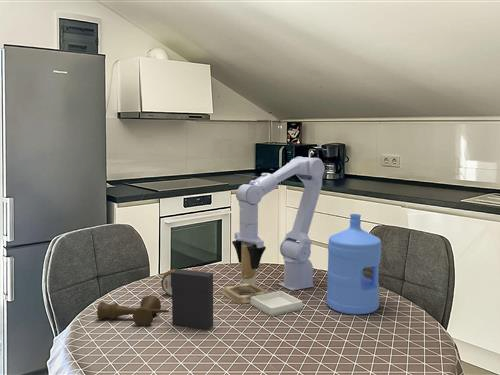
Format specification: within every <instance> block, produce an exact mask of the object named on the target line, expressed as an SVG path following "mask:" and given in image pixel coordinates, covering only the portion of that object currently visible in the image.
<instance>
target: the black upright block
mask: <svg viewBox="0 0 500 375" xmlns="http://www.w3.org/2000/svg"><path fill="white" fill-rule="evenodd" d="M190 270H191V269H179V268H177V270H175V271H173V272H172V273H171V287H172V296H171V313H172V314H171V319H172V321H171V323H172V325H173V326H176V327H177V326H178V327H183V328H184V327H185V328H189V329H196V330H204V331H209V330H210V329H211V328H212V327H214V274H213V273H212V272H207V271H201V272H199V271H200V270H197V271H190Z"/></svg>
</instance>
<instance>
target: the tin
mask: <svg viewBox="0 0 500 375" xmlns="http://www.w3.org/2000/svg"><path fill="white" fill-rule="evenodd" d="M177 269H178V268H177ZM177 269H170V270H168V271H166V272H165V273H164V275H163V276H162V278H161V284H160V285H161V287H162V290H163V291H164V293H165V294H166V295H168V296H171V297H172V287H171V273H172V272H173V271H175V270H177ZM189 270H190V271H199V272H202V271H200V270H194V269H193V270H192V269H189Z"/></svg>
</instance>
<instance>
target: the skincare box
mask: <svg viewBox="0 0 500 375" xmlns="http://www.w3.org/2000/svg"><path fill="white" fill-rule="evenodd" d="M250 246H253V245H252V244H250V243H247V242H244V241H241V263H240V264H241V267H240V268H241V270H240V272H241V274H240V278H241V283H242V284H247V283H253V284H257V269H252V268H251V260H250V254H249V251H248V249H247V247H250Z"/></svg>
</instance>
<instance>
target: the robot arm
mask: <svg viewBox="0 0 500 375" xmlns="http://www.w3.org/2000/svg"><path fill="white" fill-rule="evenodd" d="M325 169H326V167H325V165H324V162H323V161H322V159H321V158H319V157H306V156H305V157H303V156H296V157H294V158H292V159H291V160H290V161H289V162H288V163H287V164H285V165H284V166H282V167H281V168H278V170H276V171H275V172H273V173H269V172H262V173H260V175H261V176H259V177H258V178H256V179H254V180H253V179H252V180H250V181H249V183H248V184H247V183H243V184H242V185H239V187H238V189H237V191H236V193H235V198H236V199H237V201H238V206H239V231H238V232H234V240H232V241H231V242H232V245H233V247H234V249H235V251H236V256H237V259H238V263H239V264H241V241H244V242H247V243H250V244H252V245H253V246H250V247H247V249H248V251H249V254H250V260H251V268H252V269H256V270H257V269H259V267H260V264H261V259H262V257H263V254H264V252H265V251H266V249H267V247H266V246H265V242H264V240H262V239H261V238H260V236H258V234H259V205H258V204H259V203H260V202H261V201H262V198H263V197H265V196H266V195H267V194H269V193H270V192H272V191H274V190H276V189H277V187H278V184H279V183H280V182H283V181H284V180H286V179H288V178H291V177H293V176H296V177H298V179H299V180H300V181H301V182H302V183H303V186H304V188H303V192H302V194H301V199H300V201H299V202H300V203H299V206H298V209H297V212H296V215H295V219H294V222H293V225H292V229H291V230H290V231H289V232H287V233H286V234H285V237H284V239H283V240H282V242H281V243H280V245H279V252H280V255H281V256H282V259H283V260H284V261H283V282H278V285H279V286H281V287H283V288H285V289H287V290H290V291H291V292H293V291H297V290H298V291H299V290H303V289H308V288H312V287H315V285H314V284H313V280H314V277H313V276H314V266H313V263H312V261H311V260H310V259H309V258H310V257H311V253H312V249H311V248H312V247H311V246H312V243H313V242H312V240H311V239H310V237H309V231H310V229H311V228H310V227H311V224H312V221H313V217H314V214H315V211H316V208H317V204H318V200H319V198H320V193H321V190H322V187H323V177H324V173H325V171H326V170H325Z"/></svg>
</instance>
